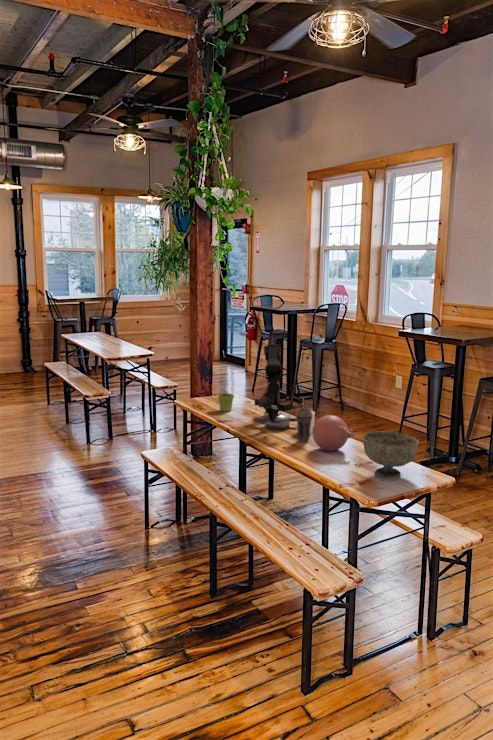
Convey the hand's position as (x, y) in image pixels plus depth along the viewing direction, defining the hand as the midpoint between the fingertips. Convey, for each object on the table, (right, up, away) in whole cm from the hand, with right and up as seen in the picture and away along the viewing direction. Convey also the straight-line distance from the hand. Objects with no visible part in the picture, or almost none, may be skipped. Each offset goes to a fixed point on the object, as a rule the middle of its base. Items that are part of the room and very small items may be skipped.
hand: (272, 422), depth 277 cm
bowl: (+42, -16, -54) cm, 70 cm away
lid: (0, +1, +8) cm, 8 cm away
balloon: (+25, -11, -26) cm, 38 cm away
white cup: (+16, -5, +3) cm, 18 cm away
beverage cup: (+14, -8, -11) cm, 19 cm away
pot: (+3, -3, +13) cm, 13 cm away
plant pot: (-24, +2, +44) cm, 50 cm away
